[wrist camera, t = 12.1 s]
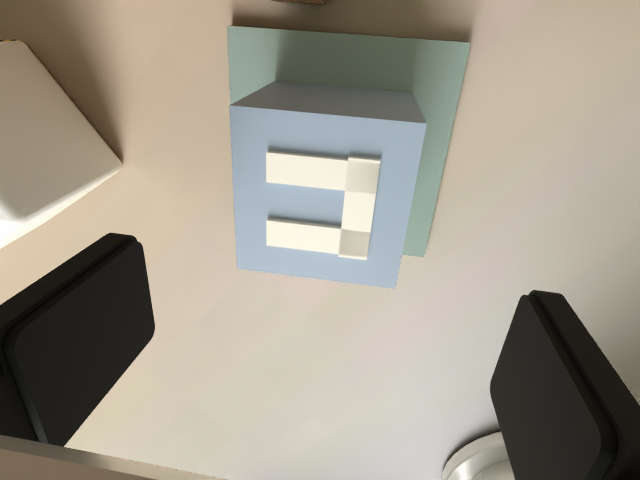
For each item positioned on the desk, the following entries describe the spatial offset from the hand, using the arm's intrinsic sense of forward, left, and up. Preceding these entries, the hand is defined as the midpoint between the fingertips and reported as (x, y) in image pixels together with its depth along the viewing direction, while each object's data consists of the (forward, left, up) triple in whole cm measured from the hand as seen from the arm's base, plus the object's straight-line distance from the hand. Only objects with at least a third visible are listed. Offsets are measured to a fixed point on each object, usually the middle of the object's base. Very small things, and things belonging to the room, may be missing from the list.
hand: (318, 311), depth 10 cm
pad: (+1, -1, -11) cm, 11 cm away
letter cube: (+1, -1, -10) cm, 11 cm away
